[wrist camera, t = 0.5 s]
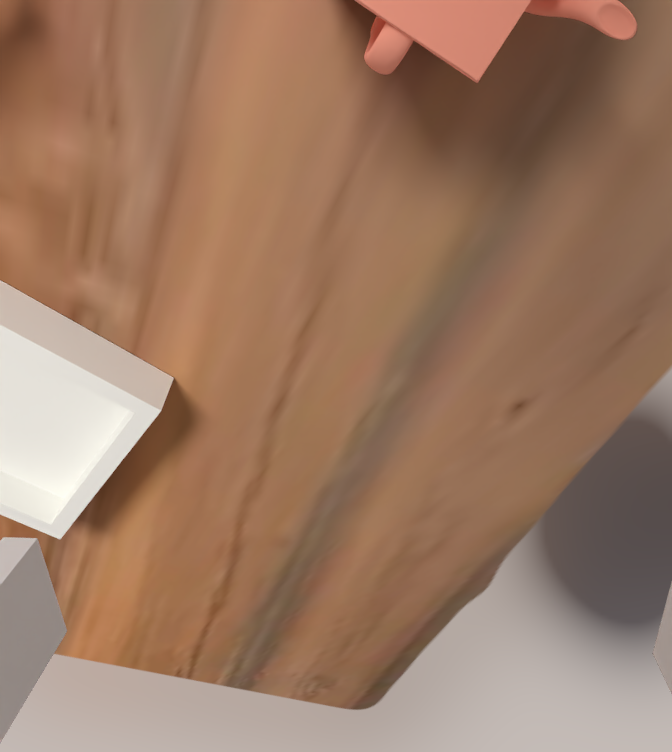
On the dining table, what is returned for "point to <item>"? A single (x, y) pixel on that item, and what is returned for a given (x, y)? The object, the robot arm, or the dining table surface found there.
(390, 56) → the teapot
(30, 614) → the robot arm
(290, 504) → the dining table surface
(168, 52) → the dining table surface
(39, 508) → the tray
